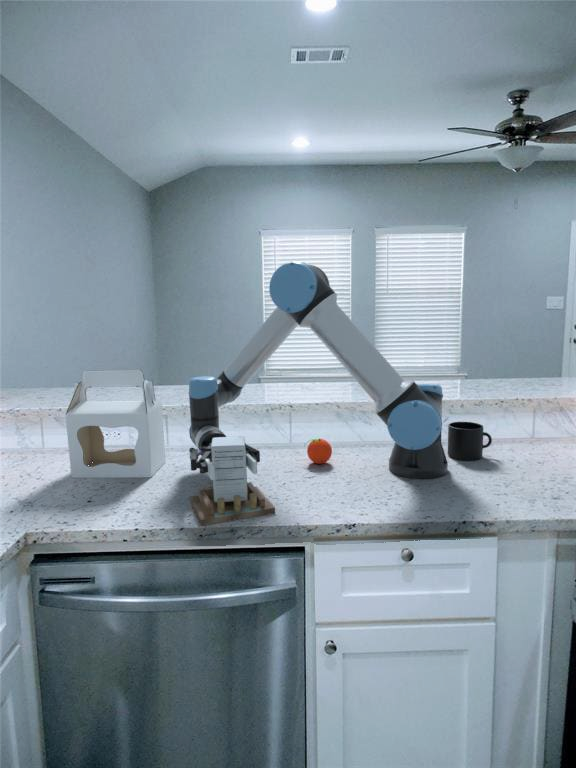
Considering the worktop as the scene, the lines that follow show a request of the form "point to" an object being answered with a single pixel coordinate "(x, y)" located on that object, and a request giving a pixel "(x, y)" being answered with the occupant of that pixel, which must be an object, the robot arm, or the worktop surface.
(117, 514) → the worktop surface
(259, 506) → the brown shallow tray
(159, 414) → the gable box
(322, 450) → the clementine
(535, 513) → the worktop surface
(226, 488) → the supplement box
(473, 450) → the mug
